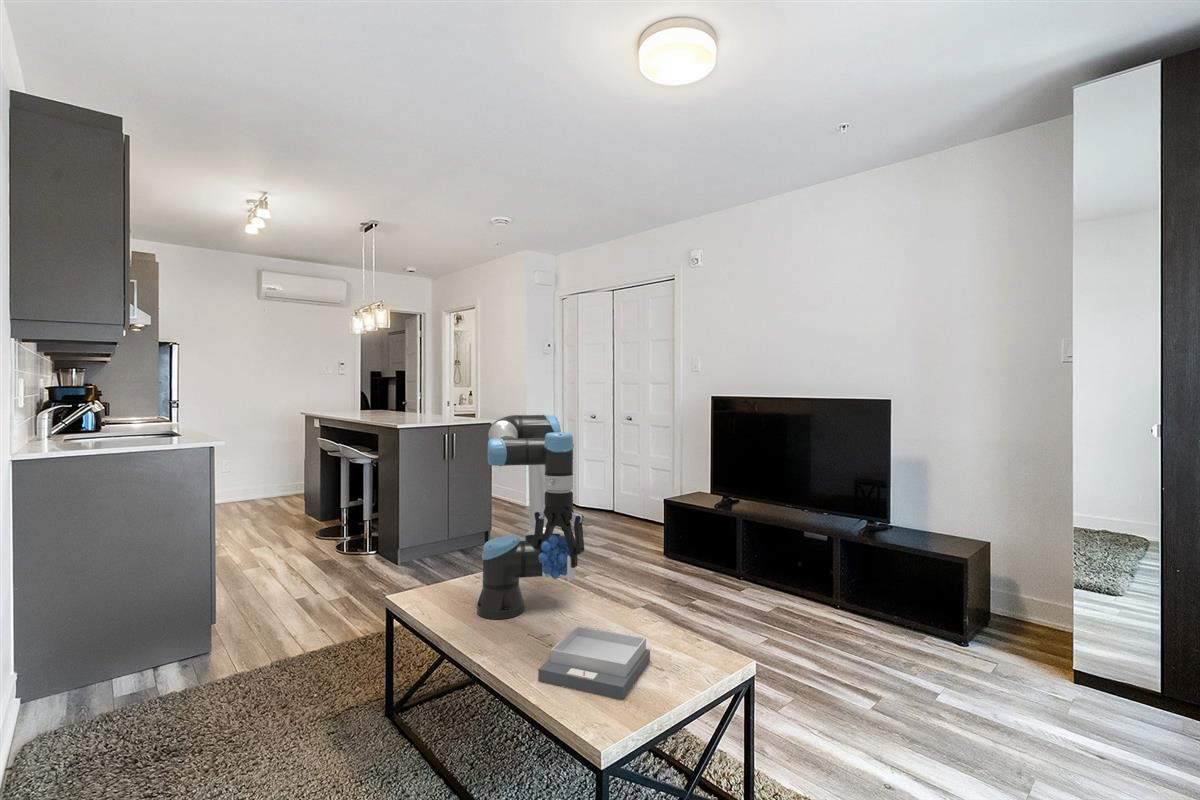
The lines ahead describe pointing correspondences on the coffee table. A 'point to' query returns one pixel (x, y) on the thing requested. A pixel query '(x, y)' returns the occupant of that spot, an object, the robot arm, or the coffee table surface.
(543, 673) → the scale
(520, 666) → the coffee table surface
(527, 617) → the coffee table surface
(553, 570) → the grapes
